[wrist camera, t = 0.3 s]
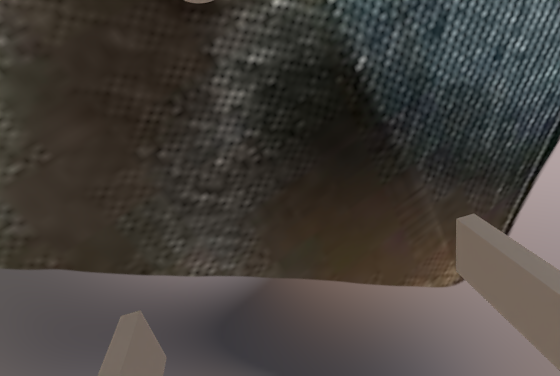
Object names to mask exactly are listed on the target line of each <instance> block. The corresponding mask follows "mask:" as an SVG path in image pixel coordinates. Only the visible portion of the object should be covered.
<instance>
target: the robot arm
mask: <svg viewBox="0 0 560 376" xmlns="http://www.w3.org/2000/svg"><path fill="white" fill-rule="evenodd" d="M456 271H457V272H458V273H459V274H460V275H461V276H462V277H463V278H464V279H465V280H466V281H467V282H468V283H469V284H470V285H471V286H472V287H473V288H474V289H475V290H476V291H477V292H478V293H480V294H481V295H482V296H483V297H484V298H485V299H486V300H487V301H488V302H489V303H490V304H491V305H492V306H493V307H494V308H495V309H496V310H497V311H498V312H499V313H500V314H501V315H502V316H503V317H504V318H505V319H506V320H508V321H509V322H510V323H511V324H512V325H513V326H514V327H515V328H516V329H517V330H518V331H519V332H520V333H521V334H522V335H523V336H524V337H525V338H526V339H527V340H528V341H529V342H530V343H531V344H532V345H534V346H535V347H536V348H537V349H538V350H539V351H540V352H541V353H542V354H543V355H544V356H545V357H546V358H547V359H548V360H549V361H550V362H551V363H552V364H553V365H554V366H555V367H557V369H558V370H560V271H559V270H558V269H556V268H555V267H553V266H552V265H550V264H549V263H547V262H546V261H544V260H543V259H541V258H540V257H538V256H537V255H535V254H534V253H532V252H531V251H529V250H527V249H526V248H525V247H523V246H522V245H520V244H519V243H517V242H516V241H514V240H513V239H511V238H510V237H508V236H507V235H505V234H504V233H502V232H501V231H499V230H498V229H496V228H495V227H493V226H492V225H490V224H489V223H487V222H486V221H484V220H483V219H481V218H480V217H478V216H477V215H475V214H471V215H468V216H464V217H461V218H457V219H456ZM165 363H166V355H165V354H164V352H163V350H162V348H161V346H160V345H159V343H158V341H157V339H156V338H155V336H154V334H153V332H152V330H151V329H150V327H149V325H148V323H147V321H146V320H145V318H144V316H143V315H142V312H141V311H137V312H134V313H130V314H126V315H123V316H121V317H120V320H119V322H118V325H117V327H116V330H115V333H114V335H113V338H112V341H111V343H110V345H109V348H108V351H107V353H106V356H105V358H104V361H103V363H102V366H101V369H100V371H99V374H98V376H163V374H164V368H165Z"/></svg>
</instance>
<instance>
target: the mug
mask: <svg viewBox="0 0 560 376" xmlns="http://www.w3.org/2000/svg"><path fill="white" fill-rule="evenodd" d="M184 1H187V2H190V3H208V2H211V1H213V0H184Z"/></svg>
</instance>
